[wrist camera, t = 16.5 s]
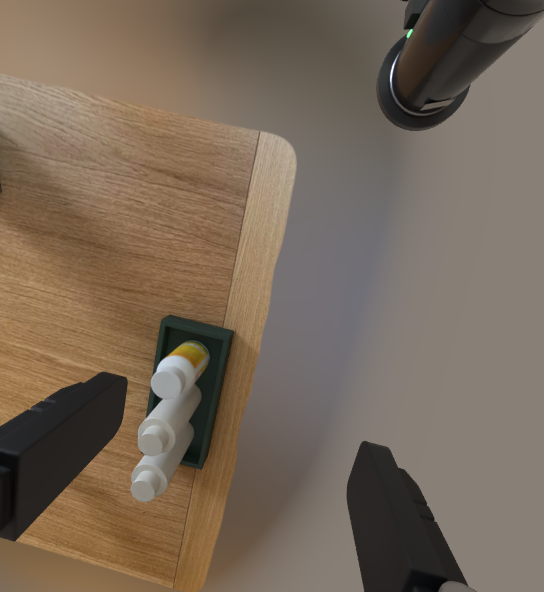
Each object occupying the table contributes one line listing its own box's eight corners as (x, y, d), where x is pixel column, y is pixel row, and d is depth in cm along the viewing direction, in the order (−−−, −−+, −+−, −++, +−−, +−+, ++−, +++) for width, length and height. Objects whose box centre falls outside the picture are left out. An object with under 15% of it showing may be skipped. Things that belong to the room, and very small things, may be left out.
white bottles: (174, 377, 45) (133, 422, 34) (204, 384, 45) (172, 433, 33) (163, 440, 47) (121, 502, 36) (191, 447, 47) (158, 512, 36)
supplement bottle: (213, 369, 44) (190, 404, 35) (180, 372, 45) (150, 406, 35) (207, 337, 43) (182, 364, 34) (174, 340, 44) (141, 367, 34)
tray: (169, 314, 44) (160, 319, 41) (234, 330, 44) (229, 337, 41) (149, 440, 49) (140, 453, 46) (207, 456, 48) (201, 470, 45)
